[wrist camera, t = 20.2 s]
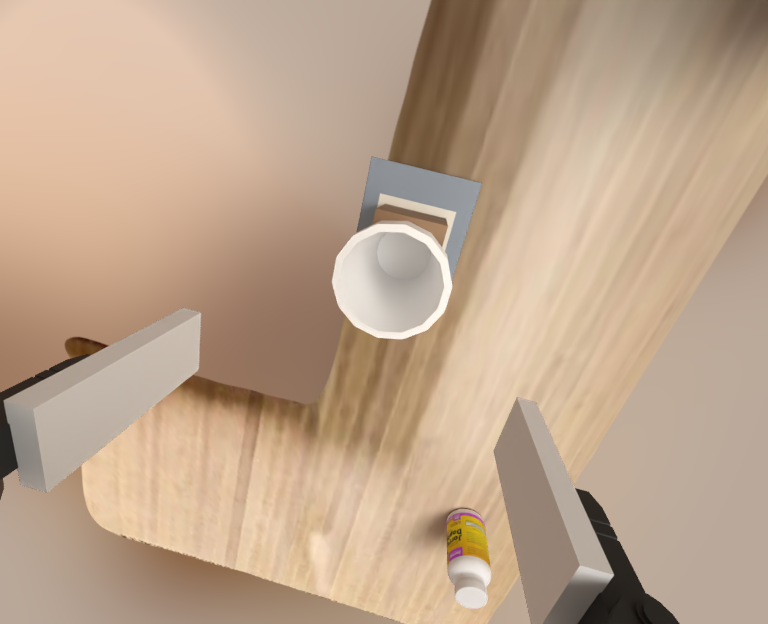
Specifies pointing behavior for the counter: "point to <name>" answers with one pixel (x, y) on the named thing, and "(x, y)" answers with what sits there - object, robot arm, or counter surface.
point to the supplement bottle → (468, 557)
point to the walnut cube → (413, 220)
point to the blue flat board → (422, 199)
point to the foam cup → (392, 279)
